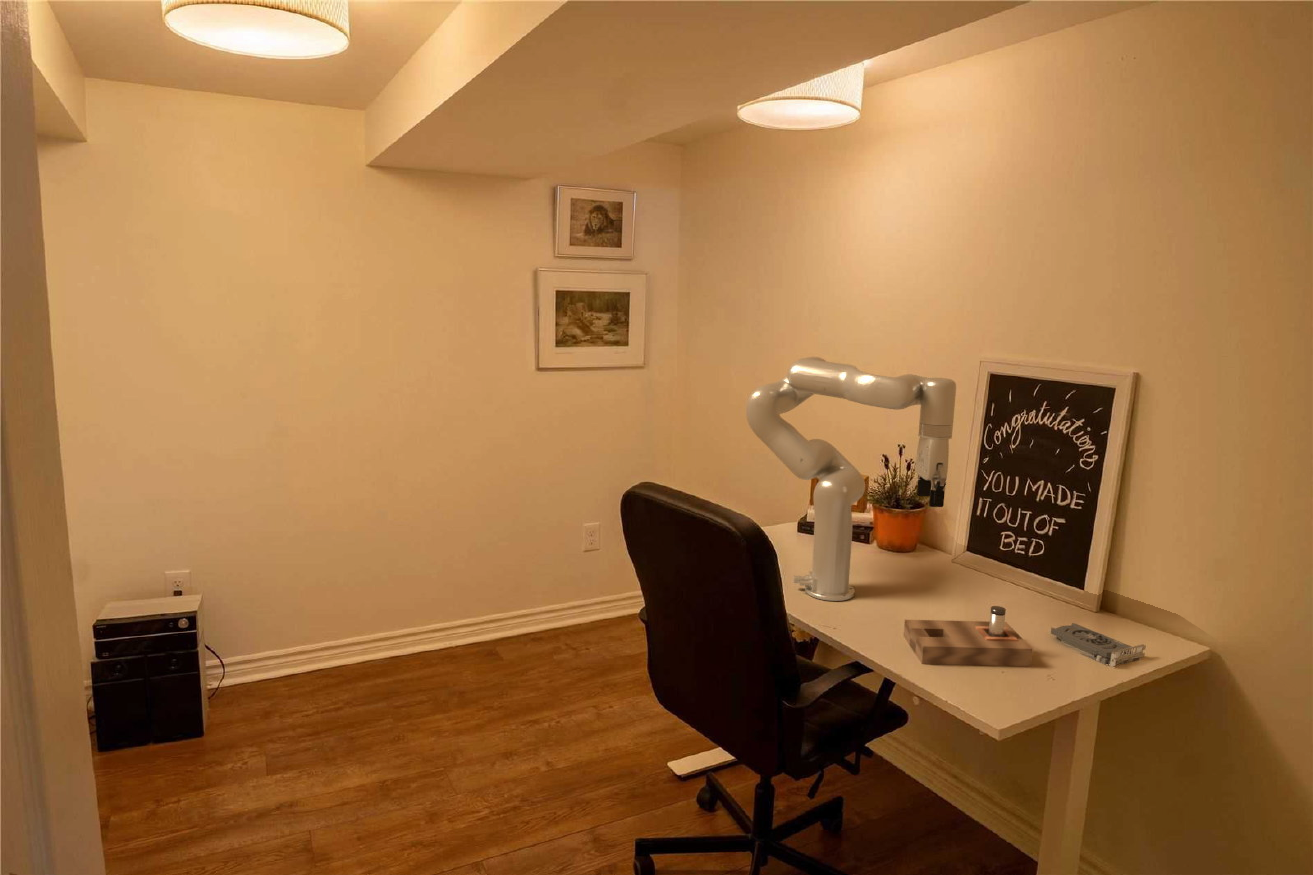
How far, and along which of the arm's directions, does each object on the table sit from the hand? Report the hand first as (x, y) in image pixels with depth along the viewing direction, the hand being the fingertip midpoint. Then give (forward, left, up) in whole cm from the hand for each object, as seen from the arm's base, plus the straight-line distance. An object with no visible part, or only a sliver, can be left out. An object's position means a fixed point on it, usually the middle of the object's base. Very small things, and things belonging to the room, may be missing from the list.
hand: (929, 501), depth 198 cm
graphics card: (+34, -18, -29) cm, 48 cm away
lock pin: (+10, -21, -28) cm, 37 cm away
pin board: (+4, -21, -28) cm, 35 cm away
